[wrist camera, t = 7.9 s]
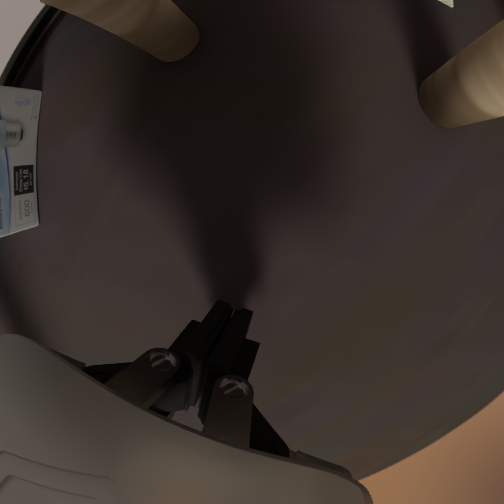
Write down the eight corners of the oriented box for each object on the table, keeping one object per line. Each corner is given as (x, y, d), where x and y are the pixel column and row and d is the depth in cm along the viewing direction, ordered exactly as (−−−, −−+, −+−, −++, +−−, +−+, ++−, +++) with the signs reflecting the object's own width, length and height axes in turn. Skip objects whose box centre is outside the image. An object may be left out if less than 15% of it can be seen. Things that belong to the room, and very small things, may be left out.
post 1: (191, 62, 10) (75, -13, 3) (148, 62, 11) (29, 12, 3) (206, 21, 10) (114, -69, 2) (162, 23, 10) (62, -42, 2)
